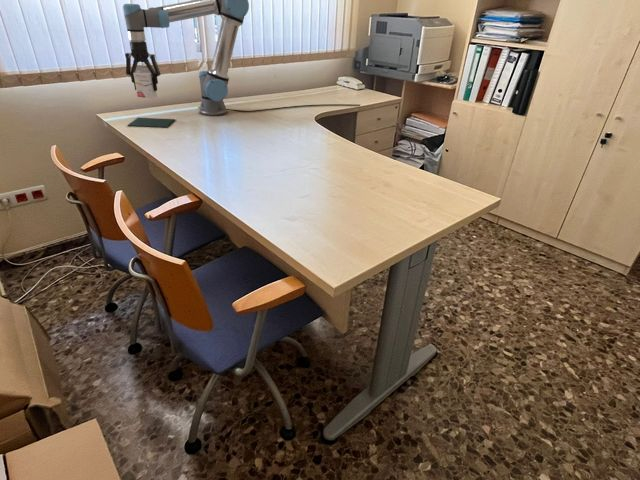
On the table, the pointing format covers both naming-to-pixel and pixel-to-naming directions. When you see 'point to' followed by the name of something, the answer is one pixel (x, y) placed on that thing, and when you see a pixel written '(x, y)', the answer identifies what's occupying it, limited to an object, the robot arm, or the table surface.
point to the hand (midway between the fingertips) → (146, 89)
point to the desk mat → (152, 122)
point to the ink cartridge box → (144, 83)
